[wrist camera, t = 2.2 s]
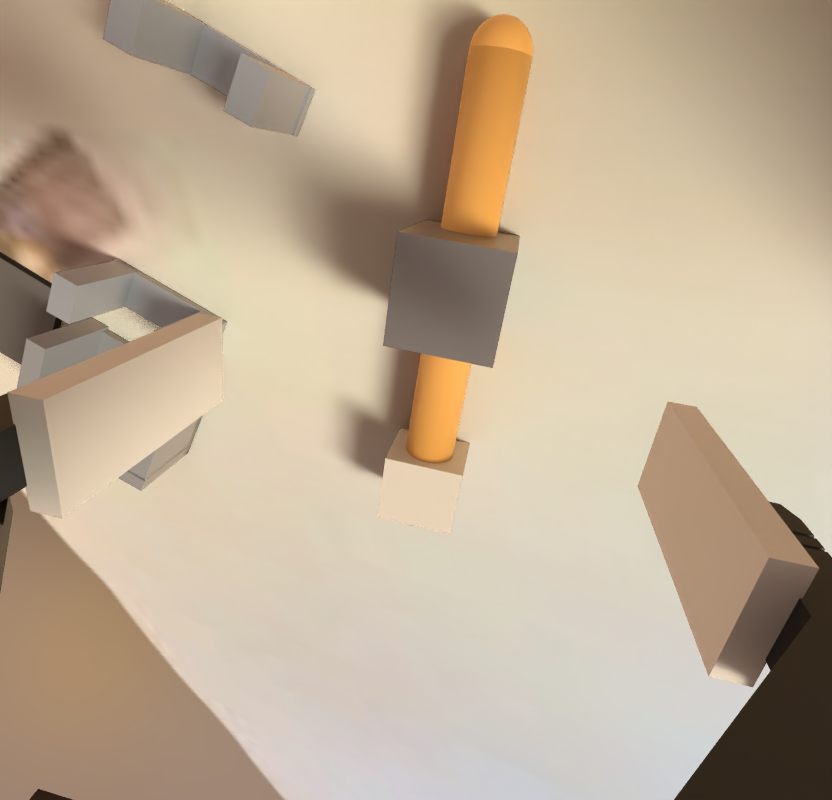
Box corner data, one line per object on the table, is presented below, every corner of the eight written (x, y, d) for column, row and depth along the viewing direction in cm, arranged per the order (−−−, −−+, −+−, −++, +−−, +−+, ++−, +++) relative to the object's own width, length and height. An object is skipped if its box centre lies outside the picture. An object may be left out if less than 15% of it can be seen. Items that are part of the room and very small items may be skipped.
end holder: (92, 317, 35) (26, 338, 30) (213, 387, 35) (166, 418, 30) (74, 388, 37) (11, 417, 32) (187, 452, 37) (140, 490, 33)
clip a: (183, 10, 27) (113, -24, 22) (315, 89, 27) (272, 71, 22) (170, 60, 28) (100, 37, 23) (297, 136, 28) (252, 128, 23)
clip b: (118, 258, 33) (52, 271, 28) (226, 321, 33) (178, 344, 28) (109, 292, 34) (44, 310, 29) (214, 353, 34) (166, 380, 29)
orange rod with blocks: (455, 20, 25) (431, -34, 18) (563, 34, 24) (576, -17, 18) (388, 480, 35) (357, 547, 29) (462, 497, 34) (448, 570, 28)
